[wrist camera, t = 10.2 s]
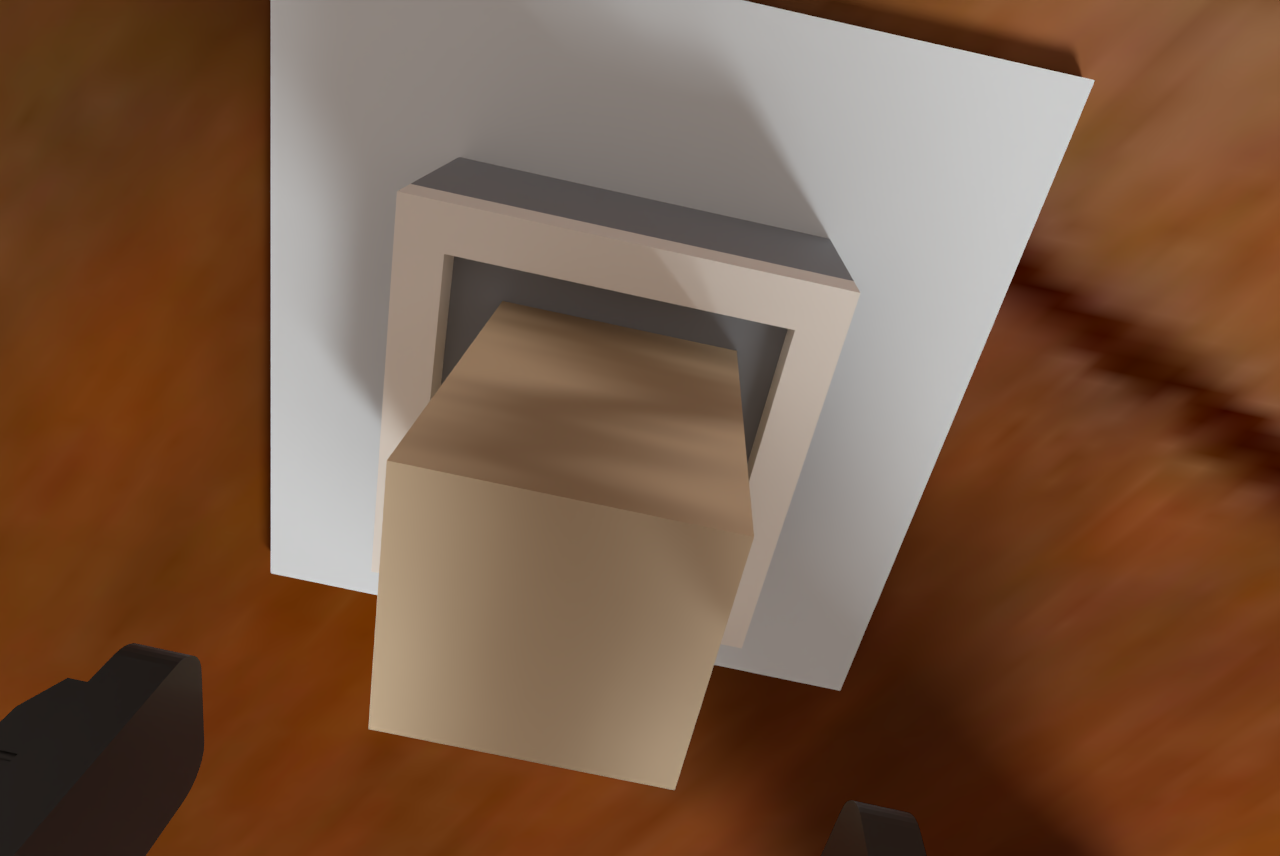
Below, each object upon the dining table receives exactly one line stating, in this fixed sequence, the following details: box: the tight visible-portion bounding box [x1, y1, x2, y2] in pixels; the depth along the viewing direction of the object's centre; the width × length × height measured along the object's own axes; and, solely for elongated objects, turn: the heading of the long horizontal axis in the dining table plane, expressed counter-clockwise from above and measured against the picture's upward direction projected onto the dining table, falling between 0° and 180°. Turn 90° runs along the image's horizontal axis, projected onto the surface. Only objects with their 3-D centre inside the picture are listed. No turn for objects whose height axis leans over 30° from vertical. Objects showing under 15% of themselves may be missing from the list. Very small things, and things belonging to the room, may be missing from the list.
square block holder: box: [271, 0, 1095, 691], centre depth 20 cm, size 18×18×5 cm
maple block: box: [368, 301, 754, 790], centre depth 15 cm, size 5×5×7 cm
